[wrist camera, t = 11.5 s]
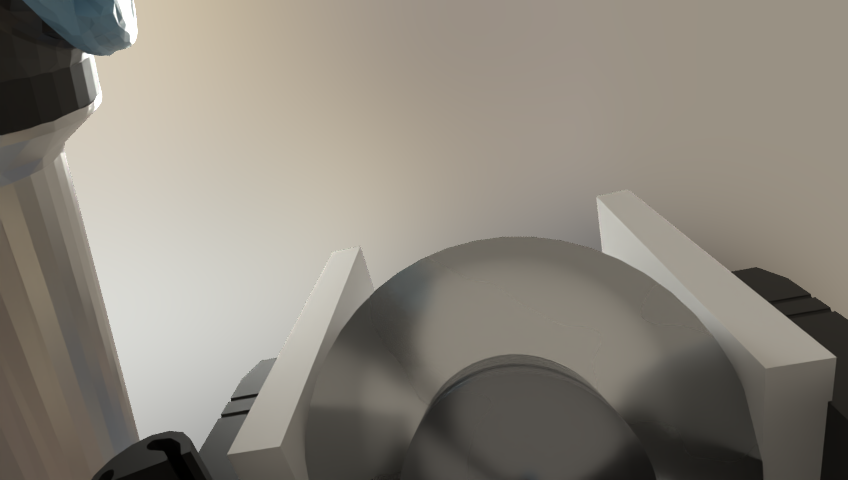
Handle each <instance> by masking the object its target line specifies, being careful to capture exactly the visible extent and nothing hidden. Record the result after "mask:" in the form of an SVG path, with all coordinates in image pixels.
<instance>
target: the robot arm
mask: <svg viewBox="0 0 848 480" xmlns="http://www.w3.org/2000/svg"><path fill="white" fill-rule="evenodd" d="M136 36H137V19H136V13H135V6H134V1H133V0H0V480H309V478H308V472H307V466H306V460H305V444H306V428H307V421H308V414H309V407H310V403H311V399H312V396H313V392H314V388H315V385H316V381H317V378H318V376H319V373H320V371H321V368H322V366H323V364H324V361H325V359H326V356H327V354H328V352H329V350H330V349H331V347H332V345H333V343H334V342H335V340H336V338H337V336H338V335H339V333H340V331H341V330H342V328H343V327H344V326H345V324H346V323H347V322H348V321H349V319H350V318H351V317H352V315H353V314H354V313H355V311H356V310H357V309H358V308H359V307H360V306H361V305H362V304H363V303H364V302H365V301H366V300H367V299H368V298H369V297H370V296H371V295H372V294H373V293H374V292H375V291H374V287H373V284H372V281H371V278H370V275H369V272H368V269H367V266H366V262H365V259H364V256H363V253H362V250H361V247H360V246H358V247H353V248H348V249H344V250H339V251H334V252H332V254H331V256H330V258H329V260H328V261H327V264H326V265H325V267H324V269H323V271H322V273H321V275H320V277H319V279H318V281H317V283H316V284H315V287H314V288H313V290H312V292H311V294H310V296H309V298H308V300H307V302H306V304H305V306H304V308H303V309H302V311H301V314H300V315H299V317H298V319H297V321H296V323H295V325H294V327H293V329H292V331H291V333H290V335H289V336H288V338H287V340H286V342H285V344H284V346H283V348H282V350H281V352H280V354H279V356H278V357H277V358H273V359H268V360H262V361H260V362H259V363H258V364H257V365H256V366H255V367H254V368H253V369H252V370H251V371H250V372H249V373H248V374H247V375H246V376H245V377H244V378H243V379H242V380H241V382H240V384H239V385H238V387H237V388H236V390H235V392H234V394H233V395H232V397H231V402H228V404H227V405H226V407H225V409H224V411H223V412H222V414H221V416H222V417H221V418H220V419H218V421H217V422H216V424H215V426H214V427H213V429H212V431H211V432H210V434H209V436H208V437H207V439H206V441H205V443H204V444H203V446H202V448H201V449H200V451H199V453H198V452H197V450H196V448H195V446H194V445H193V443H192V441H191V440H190V438H189V437H188V436H186V435H185V434H184V433H183V432H174V431H168V432H163V433H159V434H155V435H152V436H149V437H147V438H145V439H143V440H141V441H140V440H139V436H138V432H137V429H136V425H135V421H134V417H133V413H132V409H131V405H130V401H129V397H128V393H127V390H126V386H125V382H124V378H123V374H122V370H121V367H120V363H119V359H118V355H117V351H116V347H115V343H114V339H113V336H112V332H111V328H110V324H109V320H108V316H107V312H106V308H105V305H104V301H103V297H102V293H101V289H100V285H99V281H98V278H97V274H96V270H95V266H94V262H93V258H92V255H91V251H90V247H89V243H88V239H87V235H86V232H85V227H84V224H83V220H82V216H81V212H80V208H79V204H78V200H77V197H76V193H75V189H74V185H73V181H72V177H71V173H70V169H69V166H68V162H67V158H66V154H65V150H64V145H65V141H66V140H67V139H68V138H69V137H70V136H71V135H72V134H73V133H74V132H75V131H76V130H77V129H78V128H79V127H80V126H81V125H82V123H84V122H85V120H86V119H87V118H88V117H89V116H90V115H91V114H92V113H93V112H94V111H95V110H96V109H97V107H98V106H99V104H100V103H101V100H102V93H101V89H100V84H99V79H98V74H97V69H96V64H95V60H94V55H99V56H104V55H111V54H113V53H114V52H115V51H117V50H121V49H126V48H128V47H130V46H131V45H132V44H133V43H134V42H135V40H136ZM596 198H597V207H598V217H599V226H600V235H601V244H602V253H605V254H607V255H610V256H612V257H615V258H617V259H619V260H621V261H623V262H625V263H627V264H629V265H631V266H632V267H634V268H636V269H638V270H640V271H642V272H643V273H645V274H647V275H648V276H649V277H651V278H652V279H654V280H655V281H656V282H658V283H659V284H661V285H662V286H663V287H665V288H666V289H668V290H669V291H670V292H672V293H673V294H674V295H675V296H676V297H677V298H678V299H679V300H680V301H681V302H682V303H683V304H685V305H686V306H687V307H688V308H689V309H690V310H691V311H692V312H693V313H694V314H695V315H696V316H697V317H698V318H699V320H700V321H701V322H702V323H703V324H704V326H705V327H706V328H707V329H708V330H709V332H710V333H711V334H712V335H713V336H714V338H715V339H716V340H717V342H718V344H719V345H720V347H721V348H722V350H723V351H724V353H725V354H726V356H727V358H728V359H729V361H730V362H731V364H732V365H733V367H734V369H735V371H736V374H737V376H738V378H739V380H740V382H741V384H742V386H743V388H744V391H745V395H746V399H747V403H748V407H749V411H750V415H751V419H752V423H753V427H754V431H755V435H756V439H757V442H758V446H759V450H760V454H761V458H762V461H763V480H848V320H847V319H846V318H844V317H843V316H842V315H840V314H839V313H837V312H836V311H834V312H832V311H831V309H830V307H829V306H827V305H826V304H824V303H823V302H821V301H820V300H818V299H817V298H816V297H814V298H812V297H811V294H810V293H808V292H807V291H805V290H804V289H802V288H801V287H800V286H798V285H797V284H795V283H794V282H792V281H791V280H789V279H788V278H785V277H783V276H780V275H777V274H774V273H771V272H768V271H766V270H763V269H760V268H757V267H755V268H750V269H744V270H739V271H734V272H730V271H729V270H728V269H726V268H725V267H724V266H723V265H721V264H720V263H719V262H717V261H716V260H715V259H714V258H713V257H711V256H710V255H709V254H708V253H707V252H705V251H704V250H703V249H701V248H700V247H699V246H698V245H696V244H695V243H694V242H693V241H692V240H690V239H689V238H688V237H687V236H685V235H684V234H683V233H682V232H680V231H679V230H678V229H677V228H676V227H674V226H673V225H672V224H671V223H669V222H668V221H667V220H666V219H664V218H663V217H662V216H661V215H659V214H658V213H657V212H656V211H654V210H653V209H652V208H651V207H649V206H648V205H647V204H646V203H644V202H643V201H642V200H641V199H640V198H638V197H637V196H636V195H635V194H633V193H632V192H631V191H630V190H623V191H619V192H614V193H609V194H605V195H600V196H597V197H596Z"/></svg>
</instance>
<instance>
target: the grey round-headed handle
mask: <svg viewBox="0 0 848 480" xmlns="http://www.w3.org/2000/svg"><path fill="white" fill-rule="evenodd" d="M305 460H306V466H307V472H308V478H309V480H763V461H762V458H761V454H760V450H759V446H758V442H757V439H756V435H755V431H754V427H753V423H752V419H751V415H750V411H749V407H748V403H747V399H746V395H745V391H744V388H743V386H742V384H741V382H740V380H739V378H738V376H737V374H736V371H735V369H734V367H733V365H732V364H731V362H730V361H729V359H728V358H727V356H726V354H725V353H724V351H723V350H722V348H721V347H720V345H719V344H718V342H717V340H716V339H715V338H714V336H713V335H712V334H711V333H710V332H709V330H708V329H707V328H706V327H705V326H704V324H703V323H702V322H701V321H700V320H699V318H698V317H697V316H696V315H695V314H694V313H693V312H692V311H691V310H690V309H689V308H688V307H687V306H686V305H685V304H683V303H682V302H681V301H680V300H679V299H678V298H677V297H676V296H675V295H674V294H673V293H672V292H670V291H669V290H668V289H666V288H665V287H663V286H662V285H661V284H659V283H658V282H656V281H655V280H654V279H652V278H651V277H649V276H648V275H647V274H645V273H643V272H642V271H640V270H638V269H636V268H634V267H632V266H631V265H629V264H627V263H625V262H623V261H621V260H619V259H617V258H615V257H612V256H610V255H607V254H605V253H602V252H599V251H597V250H594V249H592V248H588V247H584V246H581V245H577V244H573V243H569V242H565V241H561V240H552V239H545V238H537V237H499V238H492V239H485V240H477V241H472V242H469V243H465V244H461V245H458V246H454V247H450V248H447V249H444V250H442V251H440V252H437V253H435V254H433V255H430V256H428V257H425V258H423V259H421V260H419V261H417V262H416V263H414V264H412V265H411V266H409V267H407V268H405V269H404V270H402V271H400V272H399V273H397V274H396V275H395V276H393V277H392V278H391V279H390V280H388V281H387V282H386V283H384V284H383V285H382V286H381V287H379V288H378V289H377V290H376V291H375V292H374V293H373V294H372V295H371V296H370V297H369V298H368V299H367V300H366V301H365V302H364V303H363V304H362V305H361V306H360V307H359V308H358V309H357V310H356V311H355V313H354V314H353V315H352V317H351V318H350V319H349V321H348V322H347V323H346V324H345V326H344V327H343V328H342V330H341V331H340V333H339V335H338V336H337V338H336V340H335V342H334V343H333V345H332V347H331V349H330V350H329V352H328V354H327V356H326V359H325V361H324V364H323V366H322V368H321V371H320V373H319V376H318V378H317V381H316V385H315V388H314V392H313V396H312V399H311V403H310V407H309V414H308V421H307V428H306V444H305Z"/></svg>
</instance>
